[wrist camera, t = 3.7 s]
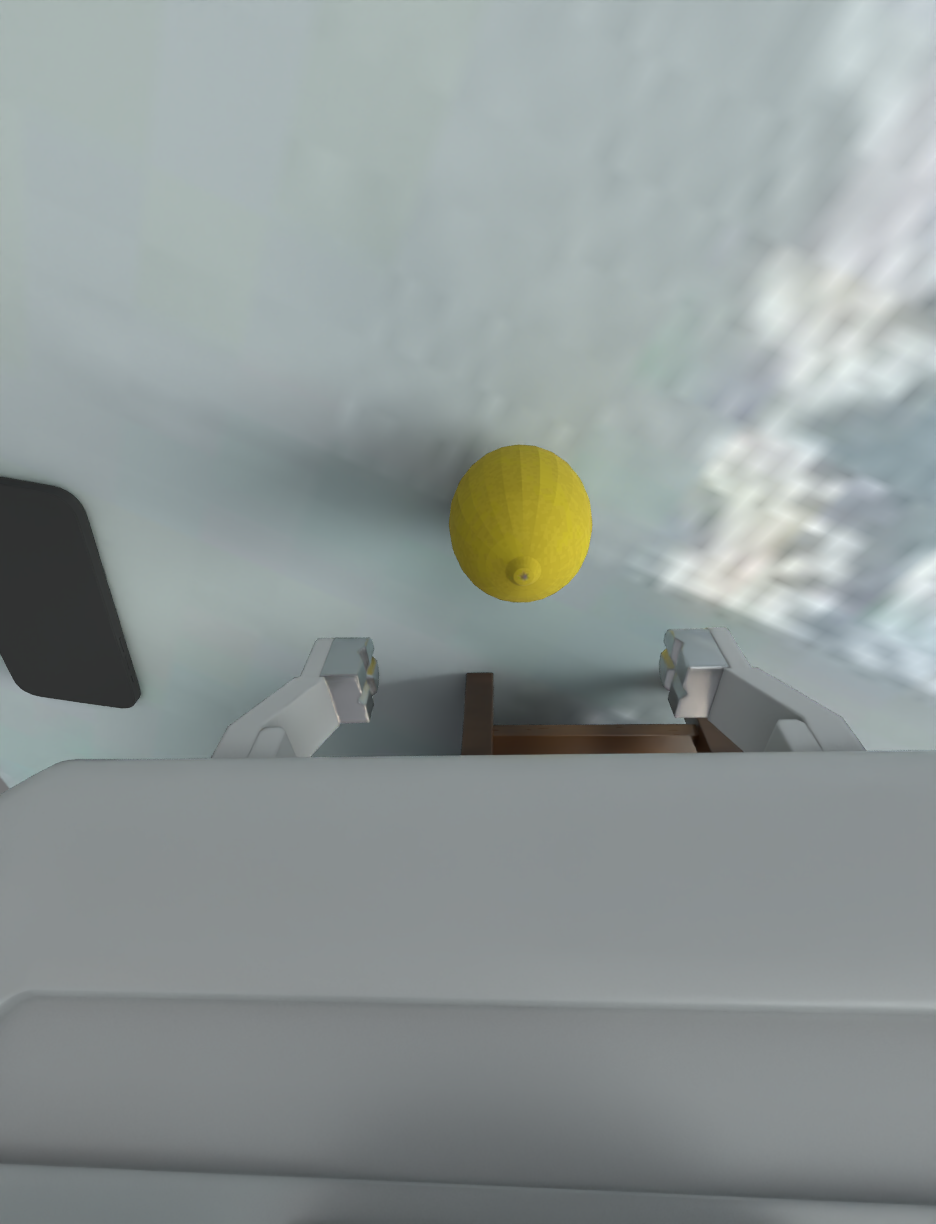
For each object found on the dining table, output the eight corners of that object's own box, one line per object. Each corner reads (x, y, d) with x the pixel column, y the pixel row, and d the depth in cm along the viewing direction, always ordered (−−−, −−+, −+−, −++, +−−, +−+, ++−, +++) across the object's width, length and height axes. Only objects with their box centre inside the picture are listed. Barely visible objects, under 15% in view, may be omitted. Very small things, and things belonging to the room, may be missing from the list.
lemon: (587, 518, 24) (619, 622, 18) (475, 546, 25) (469, 653, 19) (564, 402, 21) (594, 478, 15) (439, 440, 22) (416, 526, 16)
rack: (705, 669, 30) (830, 933, 19) (663, 805, 38) (732, 1043, 27) (466, 672, 31) (449, 924, 20) (477, 804, 39) (469, 1032, 28)
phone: (71, 496, 24) (140, 711, 33) (83, 488, 24) (147, 702, 33) (-98, 467, 23) (19, 694, 32) (-81, 460, 24) (28, 684, 33)
